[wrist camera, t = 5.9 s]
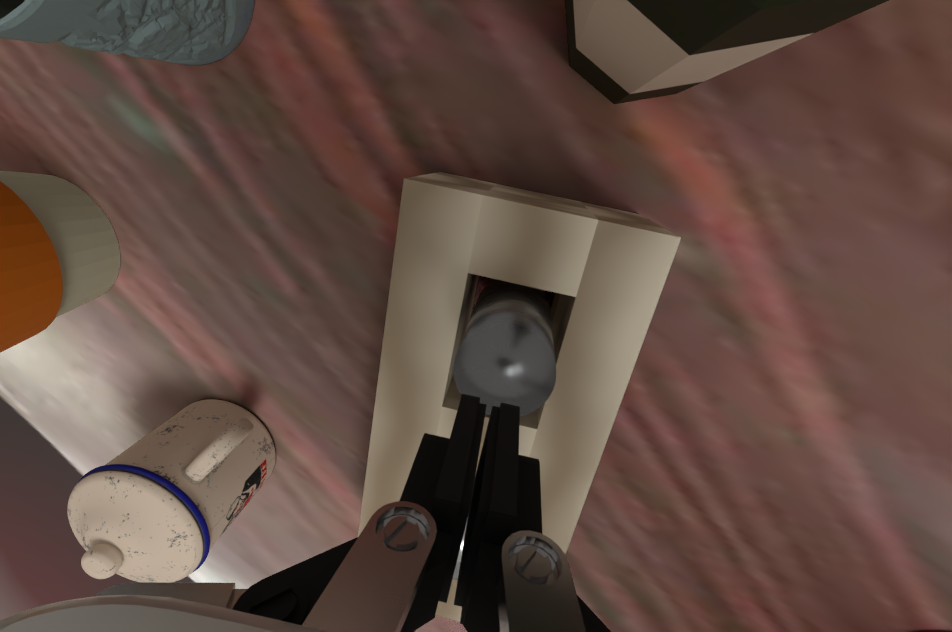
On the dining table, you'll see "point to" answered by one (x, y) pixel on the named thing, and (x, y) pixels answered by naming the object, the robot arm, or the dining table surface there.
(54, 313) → the reusable coffee cup
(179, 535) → the teacup with lid
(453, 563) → the robot arm
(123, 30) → the blue cup
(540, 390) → the graphite peg
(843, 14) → the wine bottle
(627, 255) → the birch block
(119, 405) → the dining table surface
